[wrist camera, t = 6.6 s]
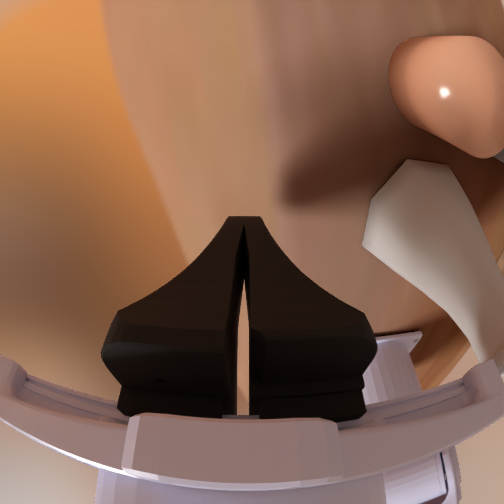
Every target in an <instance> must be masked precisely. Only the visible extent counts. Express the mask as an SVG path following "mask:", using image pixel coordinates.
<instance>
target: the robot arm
mask: <svg viewBox="0 0 504 504" xmlns="http://www.w3.org/2000/svg"><path fill="white" fill-rule="evenodd" d="M244 280H245V291H246V301H247V311H248V320H249V415H237V347H238V322H239V314H240V306H241V299H242V291H243V283H244ZM422 336H423V334H422V332H421V331H417V332H410V333H404V334H396V335H389V336H381V337H375V336H374V333H373V330H372V328H371V326H370V324H369V322H368V320H367V318H366V316H365V314H364V313H363V312H361V311H359V310H357V309H356V308H354V307H352V306H350V305H348V304H346V303H344V302H343V301H341V300H339V299H338V298H336V297H334V296H333V295H331V294H330V293H328V292H327V291H325V290H324V289H322V288H321V287H320V286H318V285H317V284H316V283H314V282H313V281H312V280H311V279H309V278H308V277H307V276H306V275H305V274H303V273H302V272H301V271H300V270H299V269H298V268H297V267H296V266H295V265H294V264H293V263H292V262H291V260H290V259H289V258H288V257H287V256H286V255H285V253H284V252H283V251H282V250H281V248H280V247H279V246H278V244H277V243H276V242H275V240H274V239H273V237H272V236H271V234H270V233H269V231H268V229H267V228H266V226H265V224H264V222H263V220H262V218H261V217H260V216H229V217H228V218H227V219H226V221H225V222H224V224H223V226H222V227H221V229H220V230H219V232H218V233H217V234H216V236H215V237H214V238H213V240H212V241H211V242H210V243H209V245H208V246H207V247H206V248H205V249H204V250H203V252H202V253H201V254H200V255H199V256H198V257H197V258H196V259H195V260H194V261H193V262H192V263H191V264H190V265H189V266H188V267H187V268H186V269H185V270H183V271H182V272H181V273H180V274H179V275H177V276H176V277H175V278H173V279H172V280H171V281H169V282H168V283H167V284H165V285H164V286H162V287H161V288H159V289H158V290H156V291H154V292H153V293H151V294H150V295H148V296H146V297H144V298H143V299H141V300H139V301H137V302H135V303H133V304H131V305H129V306H127V307H125V308H123V309H121V310H119V311H118V312H117V314H116V316H115V318H114V320H113V321H112V323H111V326H110V328H109V331H108V334H107V336H106V339H105V342H104V345H103V347H102V350H101V358H102V360H103V362H104V363H105V365H106V367H107V368H108V369H109V371H110V372H111V373H112V374H113V376H114V377H115V378H116V379H117V381H118V382H119V383H120V384H121V385H122V387H121V391H120V396H119V399H118V401H114V400H110V399H105V398H101V397H97V396H93V395H89V394H86V393H82V392H79V391H75V390H72V389H69V388H66V387H63V386H60V385H57V384H54V383H51V382H48V381H45V380H42V379H40V378H37V377H35V376H32V375H30V374H27V372H26V371H25V370H24V369H23V367H21V366H20V365H19V364H18V363H16V362H15V361H14V360H12V359H9V358H7V357H5V356H2V355H0V420H1V421H3V422H4V423H6V424H8V425H9V426H11V427H12V428H14V429H15V430H17V431H18V432H20V433H22V434H24V435H25V436H27V437H29V438H31V439H32V440H34V441H36V442H38V443H40V444H42V445H44V446H46V447H48V448H50V449H52V450H54V451H56V452H58V453H61V454H63V455H65V456H67V457H70V458H72V459H74V460H77V461H79V462H82V463H84V464H87V465H90V466H92V467H95V468H98V469H99V473H98V480H97V488H96V496H95V504H459V501H460V500H461V489H460V483H461V476H460V469H459V463H458V458H457V454H456V449H455V445H456V444H459V443H460V442H462V441H464V440H466V439H468V438H470V437H472V436H473V435H475V434H477V433H478V432H480V431H482V430H483V429H485V428H487V427H488V426H490V425H491V424H493V423H494V422H496V421H497V420H499V419H500V418H502V417H503V416H504V383H503V380H502V378H501V375H500V373H499V371H498V368H497V366H496V364H495V361H494V359H490V360H487V361H485V362H482V363H480V364H478V365H476V366H474V367H473V368H471V369H470V370H469V371H468V372H467V373H466V374H465V375H464V376H463V378H461V379H458V380H455V381H453V382H450V383H447V384H444V385H441V386H438V387H435V388H432V389H428V390H425V391H422V389H421V386H420V383H419V380H418V377H417V374H416V371H415V368H414V365H413V363H412V360H411V357H410V354H409V353H410V352H411V351H412V349H413V348H414V347H415V346H416V344H417V343H418V341H419V340H420V339H421V337H422ZM445 475H446V480H445Z"/></svg>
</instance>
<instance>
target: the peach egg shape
mask: <svg viewBox="0 0 504 504" xmlns="http://www.w3.org/2000/svg"><path fill="white" fill-rule="evenodd" d="M389 85H390V90H391V93H392V96H393V99H394V101H395V103H396V105H397V107H398V109H399V110H400V112H401V113H402V114H403V115H404V117H405V118H406V119H407V120H408V121H409V122H411V123H412V124H413V125H415V126H417V127H419V128H420V129H423V130H425V131H427V132H429V133H431V134H433V135H435V136H437V137H439V138H441V139H443V140H445V141H447V142H449V143H451V144H452V145H454V146H456V147H458V148H460V149H461V150H463V151H465V152H467V153H468V154H470V155H472V156H474V157H477V158H490V157H492V156H495V155H496V154H498V153H499V152H500V151H501V150H502V149H503V148H504V59H503V57H502V56H501V55H500V53H499V52H498V51H497V50H496V49H495V48H494V47H493V46H492V45H491V44H489V43H488V42H487V41H485V40H483V39H481V38H479V37H474V36H426V37H414V38H410V39H407V40H405V41H404V42H402V43H401V44H400V45H399V46H398V47H397V48H396V49H395V51H394V53H393V55H392V57H391V60H390V64H389Z"/></svg>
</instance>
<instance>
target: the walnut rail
mask: <svg viewBox="0 0 504 504" xmlns="http://www.w3.org/2000/svg"><path fill="white" fill-rule="evenodd" d="M497 265H498V267H499V268H500V270H501V272H502V274H503V276H504V250H503V252H502V254H501V256H500V258H499V260H498V262H497Z"/></svg>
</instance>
